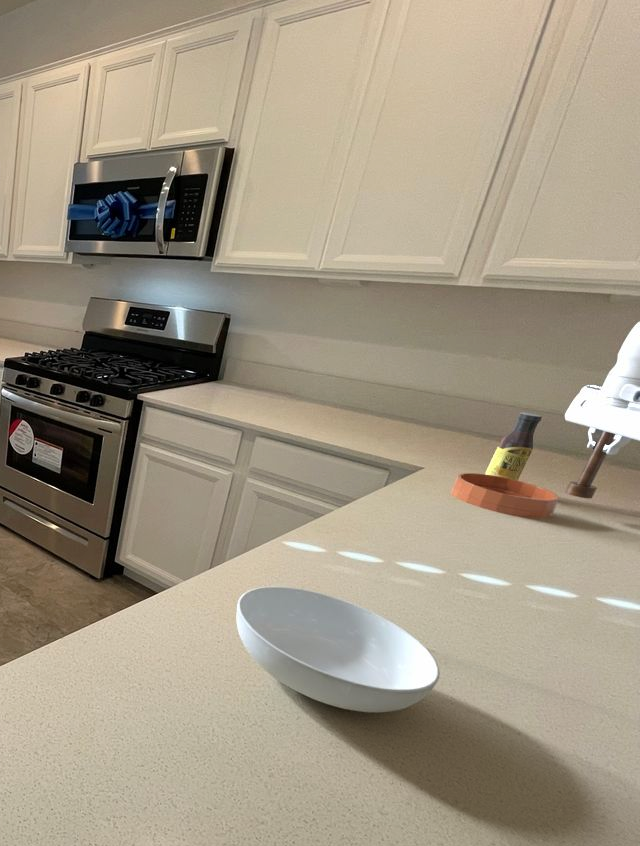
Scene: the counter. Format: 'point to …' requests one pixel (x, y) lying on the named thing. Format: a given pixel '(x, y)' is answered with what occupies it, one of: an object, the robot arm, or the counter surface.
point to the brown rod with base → (591, 469)
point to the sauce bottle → (514, 448)
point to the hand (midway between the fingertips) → (601, 451)
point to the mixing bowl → (505, 495)
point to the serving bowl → (334, 650)
